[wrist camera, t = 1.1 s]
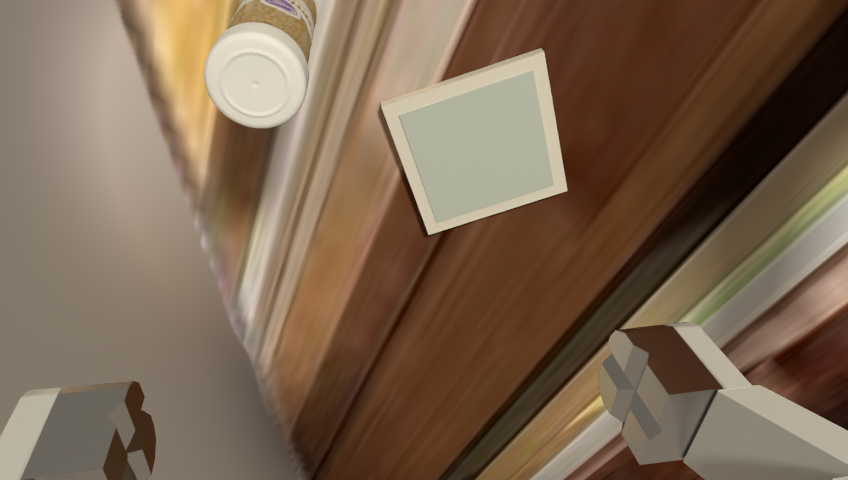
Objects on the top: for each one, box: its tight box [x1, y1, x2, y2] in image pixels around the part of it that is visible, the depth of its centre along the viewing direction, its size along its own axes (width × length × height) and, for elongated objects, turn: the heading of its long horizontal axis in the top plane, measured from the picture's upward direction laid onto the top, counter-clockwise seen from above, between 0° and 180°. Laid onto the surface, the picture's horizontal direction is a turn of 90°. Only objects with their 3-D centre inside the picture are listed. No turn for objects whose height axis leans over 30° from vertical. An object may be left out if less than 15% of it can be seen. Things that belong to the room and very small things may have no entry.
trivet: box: [381, 48, 567, 235], centre depth 43 cm, size 12×12×1 cm
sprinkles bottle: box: [204, 0, 317, 128], centre depth 31 cm, size 5×5×14 cm
